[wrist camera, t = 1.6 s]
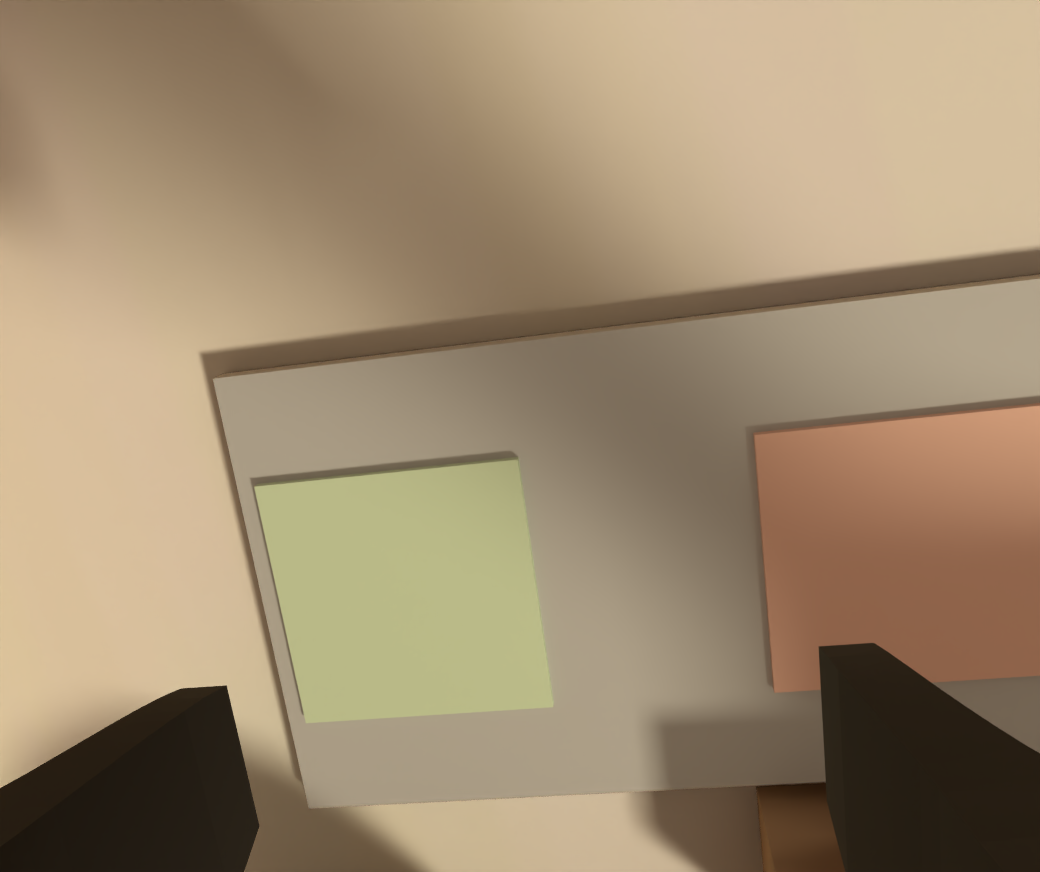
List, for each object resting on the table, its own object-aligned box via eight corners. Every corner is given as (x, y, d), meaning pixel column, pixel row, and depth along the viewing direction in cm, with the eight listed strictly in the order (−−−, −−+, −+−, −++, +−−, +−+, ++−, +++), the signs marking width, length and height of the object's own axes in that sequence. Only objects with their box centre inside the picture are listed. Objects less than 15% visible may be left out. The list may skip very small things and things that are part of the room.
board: (1072, 270, 18) (1091, 273, 18) (1067, 752, 21) (1083, 774, 20) (224, 373, 21) (208, 380, 20) (316, 793, 24) (305, 813, 23)
